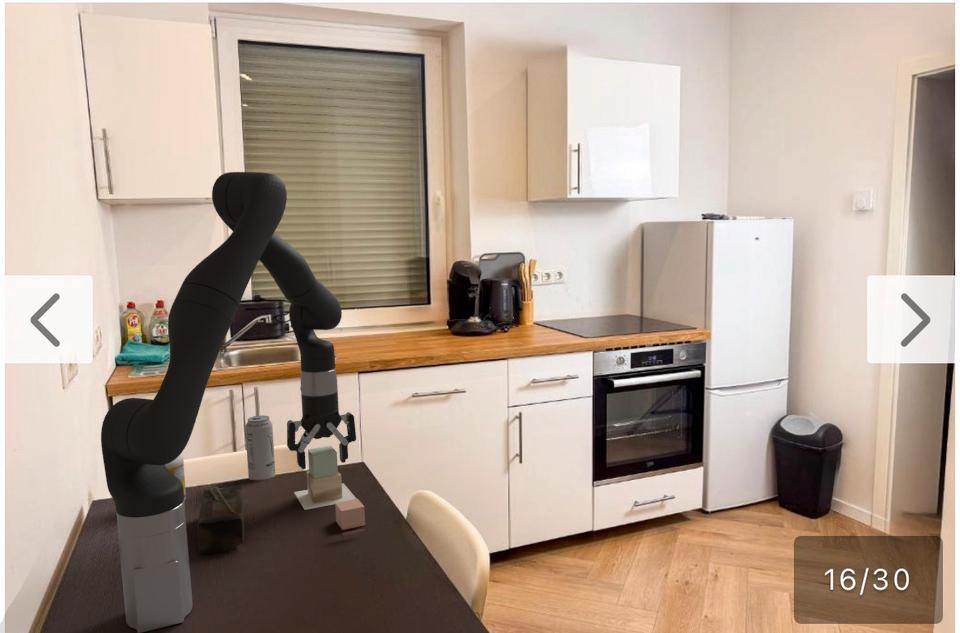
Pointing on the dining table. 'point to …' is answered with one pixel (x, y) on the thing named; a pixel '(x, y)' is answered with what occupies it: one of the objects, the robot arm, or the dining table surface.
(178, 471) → the supplement bottle
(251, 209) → the robot arm
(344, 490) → the pad
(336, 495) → the maple block
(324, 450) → the sage block
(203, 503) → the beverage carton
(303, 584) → the dining table surface
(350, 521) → the coral block
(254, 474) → the energy drink can
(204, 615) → the dining table surface
